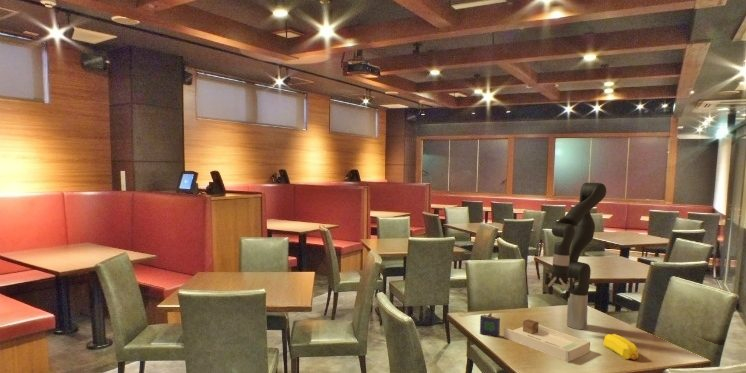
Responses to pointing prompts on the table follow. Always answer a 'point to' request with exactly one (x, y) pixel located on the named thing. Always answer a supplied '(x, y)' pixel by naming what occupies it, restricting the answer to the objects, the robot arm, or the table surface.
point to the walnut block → (530, 326)
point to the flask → (489, 325)
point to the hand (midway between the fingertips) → (558, 296)
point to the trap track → (550, 342)
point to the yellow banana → (621, 346)
